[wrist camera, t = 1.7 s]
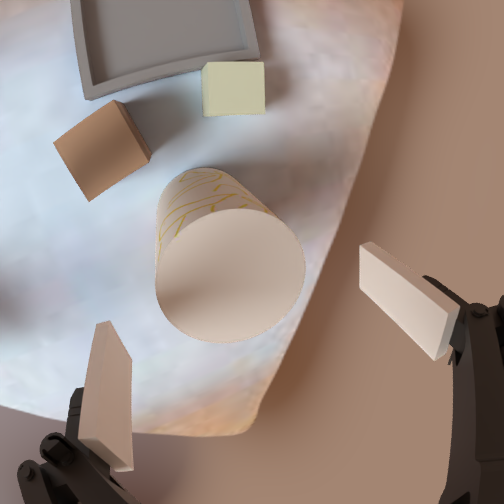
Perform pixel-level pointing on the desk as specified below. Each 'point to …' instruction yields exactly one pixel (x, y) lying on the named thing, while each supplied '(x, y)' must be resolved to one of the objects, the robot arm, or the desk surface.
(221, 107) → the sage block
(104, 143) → the walnut block
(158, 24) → the tray
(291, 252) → the cream cylinder
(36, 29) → the desk surface
